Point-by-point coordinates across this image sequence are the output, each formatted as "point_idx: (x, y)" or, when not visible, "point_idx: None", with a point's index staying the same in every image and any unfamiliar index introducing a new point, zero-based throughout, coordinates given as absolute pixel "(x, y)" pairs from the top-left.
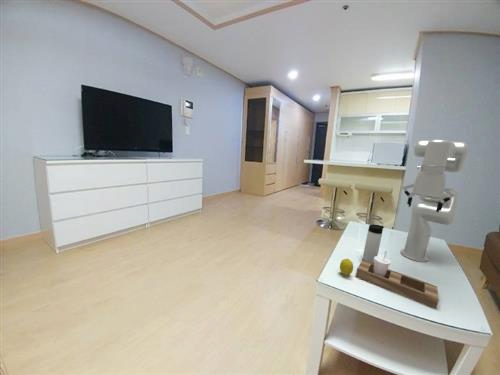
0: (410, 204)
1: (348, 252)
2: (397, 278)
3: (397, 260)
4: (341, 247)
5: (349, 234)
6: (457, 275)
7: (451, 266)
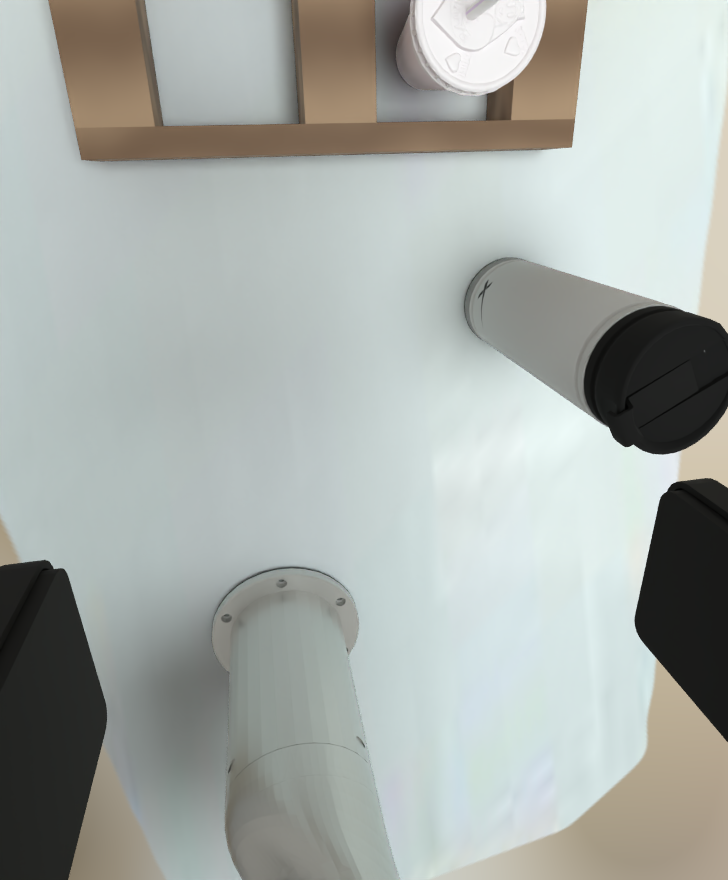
0: (716, 519)
1: None
2: (321, 24)
3: (355, 483)
4: None
5: None
6: None
7: None
